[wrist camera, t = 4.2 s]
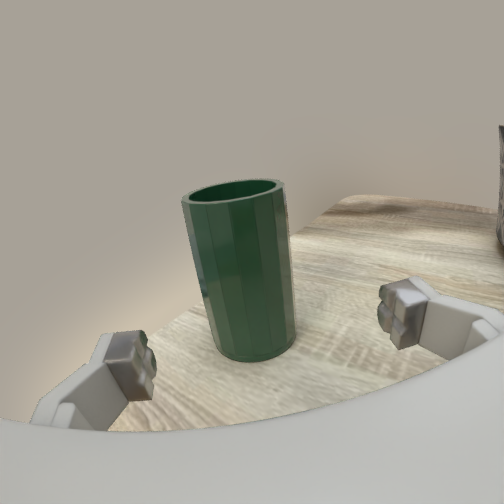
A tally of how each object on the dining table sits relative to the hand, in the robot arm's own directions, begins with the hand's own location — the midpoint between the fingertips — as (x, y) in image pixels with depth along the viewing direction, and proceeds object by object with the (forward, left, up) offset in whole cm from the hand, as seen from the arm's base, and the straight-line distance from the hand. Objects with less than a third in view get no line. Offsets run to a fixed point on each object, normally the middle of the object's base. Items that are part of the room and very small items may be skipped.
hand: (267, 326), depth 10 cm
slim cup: (+5, +11, -10) cm, 15 cm away
